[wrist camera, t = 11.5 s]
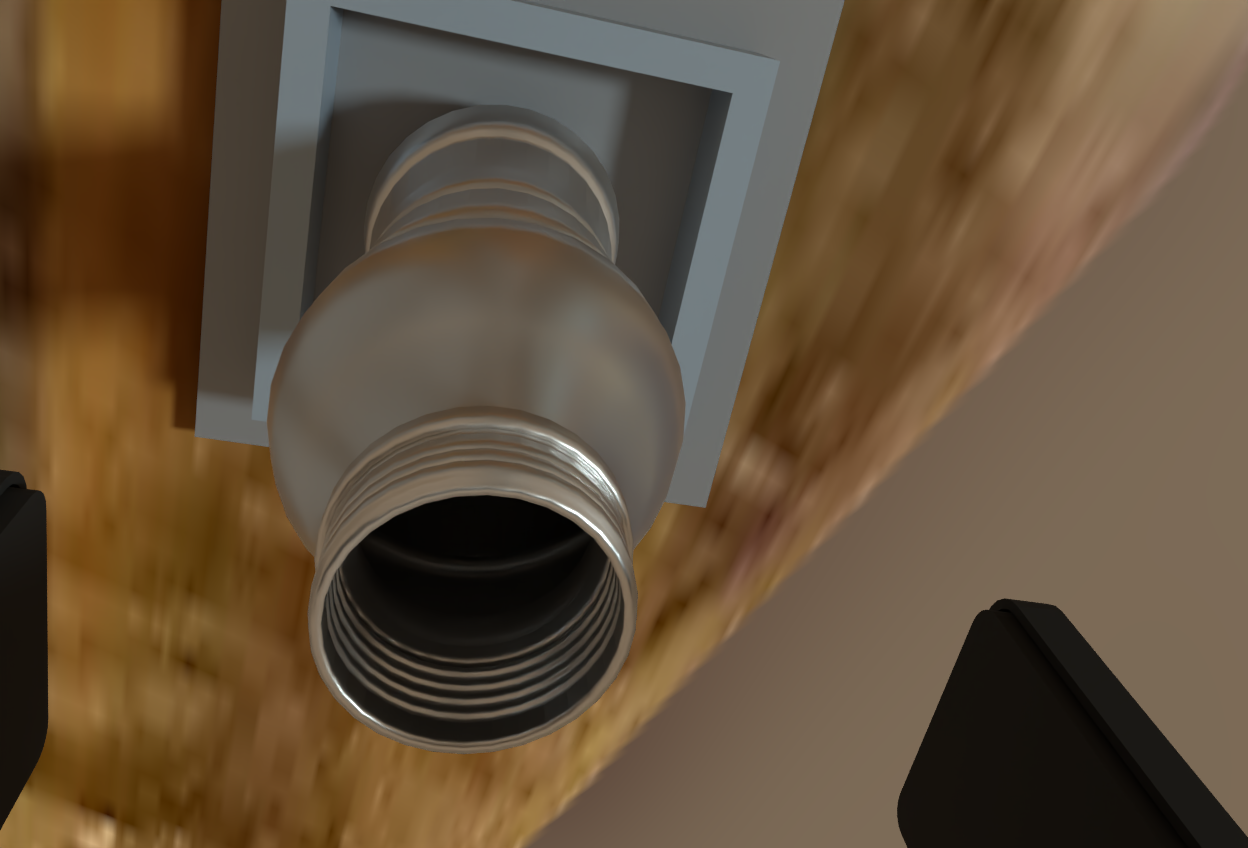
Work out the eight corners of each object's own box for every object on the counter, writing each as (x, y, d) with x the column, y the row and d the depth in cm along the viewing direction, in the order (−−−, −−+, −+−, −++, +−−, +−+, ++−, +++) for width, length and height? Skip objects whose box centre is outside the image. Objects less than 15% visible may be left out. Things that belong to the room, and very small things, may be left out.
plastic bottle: (656, 223, 30) (884, 631, 12) (479, 366, 32) (446, 929, 13) (509, 38, 28) (518, 205, 10) (323, 201, 29) (25, 618, 11)
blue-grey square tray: (238, -154, 26) (205, -168, 23) (837, -9, 29) (877, -5, 26) (201, 425, 32) (171, 473, 29) (701, 495, 35) (720, 546, 32)
